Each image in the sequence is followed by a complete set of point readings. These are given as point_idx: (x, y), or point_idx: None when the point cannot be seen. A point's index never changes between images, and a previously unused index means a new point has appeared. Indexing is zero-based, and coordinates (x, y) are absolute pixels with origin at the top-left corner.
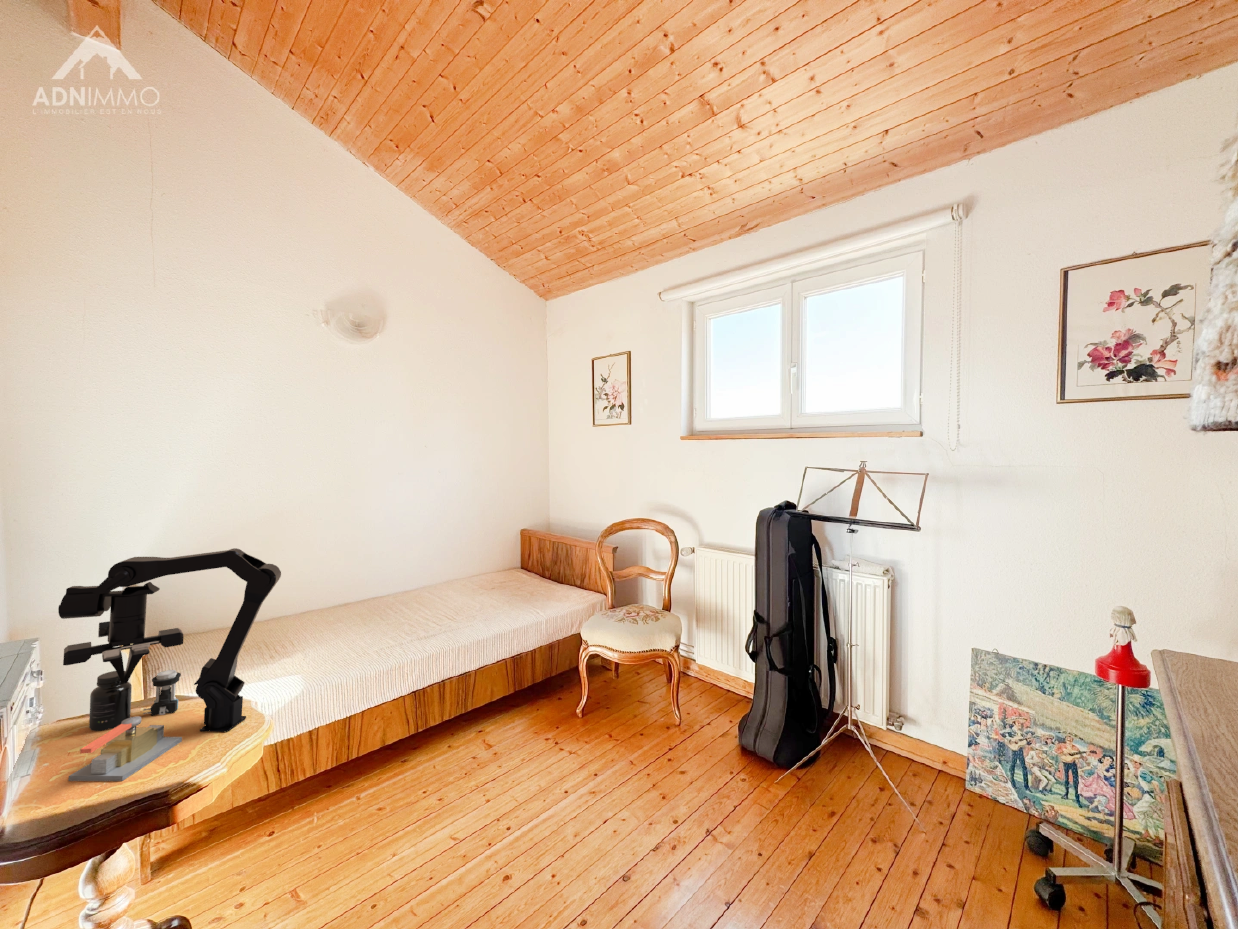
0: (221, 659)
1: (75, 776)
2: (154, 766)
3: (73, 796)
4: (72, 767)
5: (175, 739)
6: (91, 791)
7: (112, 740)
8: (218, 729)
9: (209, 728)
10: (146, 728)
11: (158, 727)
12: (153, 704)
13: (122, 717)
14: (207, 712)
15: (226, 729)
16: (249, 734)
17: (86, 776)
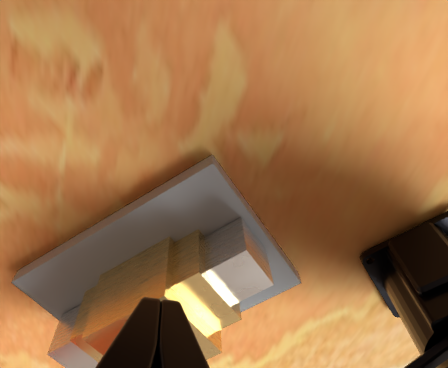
0: None
1: (27, 293)
2: None
3: (29, 346)
4: (26, 191)
5: (281, 285)
6: None
7: (98, 350)
8: (387, 300)
9: (380, 275)
10: (202, 345)
11: (253, 288)
12: None
13: None
14: (410, 294)
15: (397, 314)
16: (409, 356)
17: (52, 313)
